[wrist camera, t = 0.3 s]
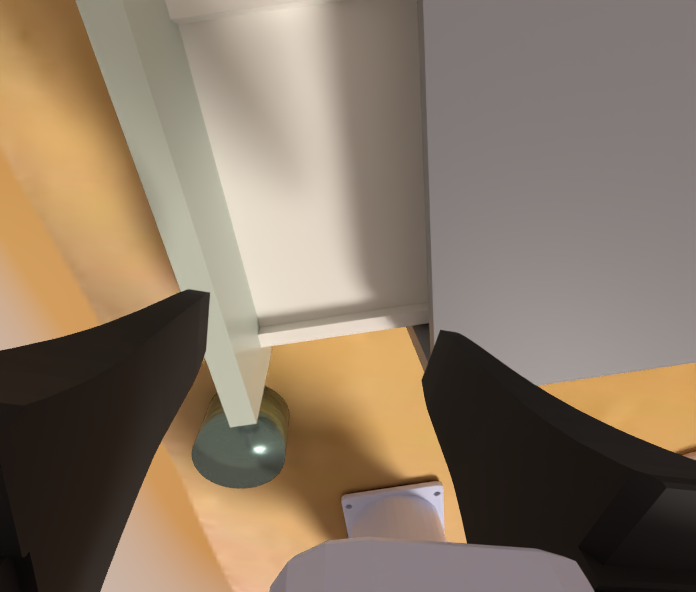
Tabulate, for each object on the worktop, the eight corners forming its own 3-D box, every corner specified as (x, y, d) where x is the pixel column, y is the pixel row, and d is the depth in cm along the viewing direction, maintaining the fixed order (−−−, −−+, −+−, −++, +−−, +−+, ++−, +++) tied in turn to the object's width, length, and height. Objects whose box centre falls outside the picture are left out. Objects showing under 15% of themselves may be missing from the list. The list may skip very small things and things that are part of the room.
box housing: (693, 280, 23) (834, 342, 17) (404, 322, 23) (436, 400, 17) (817, -125, 15) (1174, -299, 9) (376, -61, 15) (416, -191, 9)
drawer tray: (540, 310, 22) (610, 371, 17) (252, 352, 22) (230, 427, 17) (586, -102, 14) (745, -232, 9) (138, -37, 14) (28, -130, 9)
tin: (296, 437, 27) (292, 481, 23) (221, 448, 27) (207, 494, 23) (280, 376, 24) (274, 417, 21) (198, 388, 24) (179, 431, 21)
